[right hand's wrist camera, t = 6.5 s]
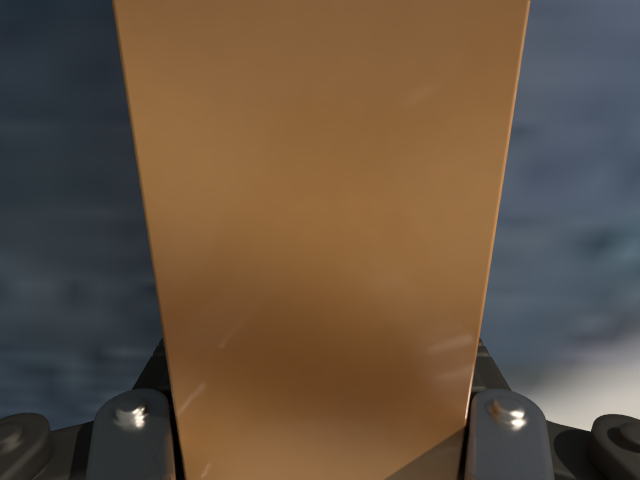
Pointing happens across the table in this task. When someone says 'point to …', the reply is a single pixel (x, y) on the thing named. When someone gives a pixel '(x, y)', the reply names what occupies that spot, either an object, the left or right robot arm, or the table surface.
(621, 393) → the table surface
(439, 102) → the post
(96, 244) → the table surface
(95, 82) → the table surface
